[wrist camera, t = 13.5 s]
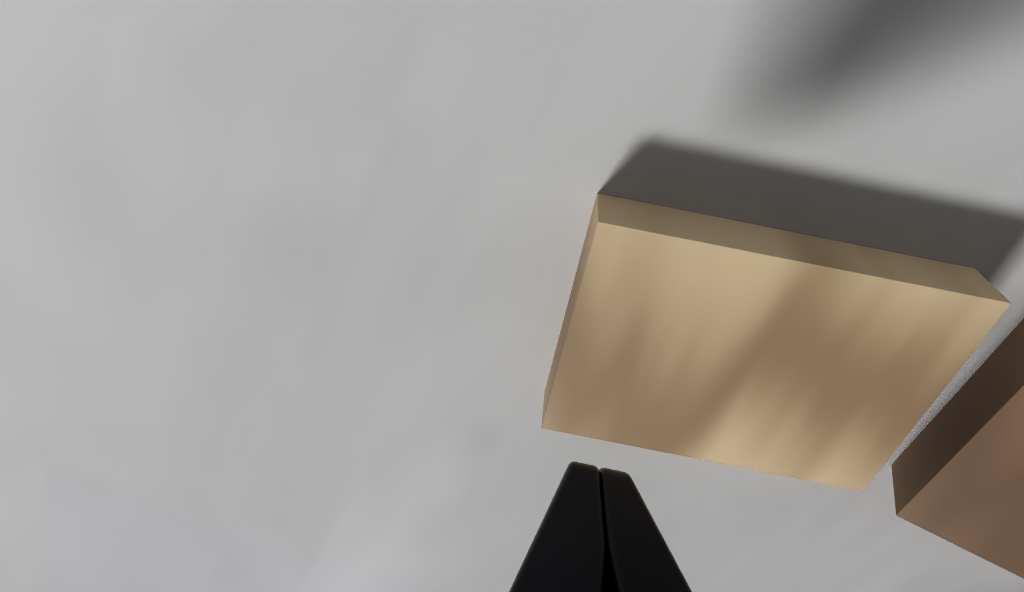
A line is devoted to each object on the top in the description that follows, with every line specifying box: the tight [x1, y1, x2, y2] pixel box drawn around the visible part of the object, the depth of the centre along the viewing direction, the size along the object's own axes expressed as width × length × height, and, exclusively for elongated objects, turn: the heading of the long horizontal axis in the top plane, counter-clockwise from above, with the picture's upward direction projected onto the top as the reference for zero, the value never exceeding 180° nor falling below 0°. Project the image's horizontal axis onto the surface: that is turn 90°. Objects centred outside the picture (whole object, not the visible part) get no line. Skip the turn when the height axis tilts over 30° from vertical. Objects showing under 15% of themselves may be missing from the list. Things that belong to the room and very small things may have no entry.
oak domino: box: [541, 193, 1011, 491], centre depth 12 cm, size 5×2×7 cm
